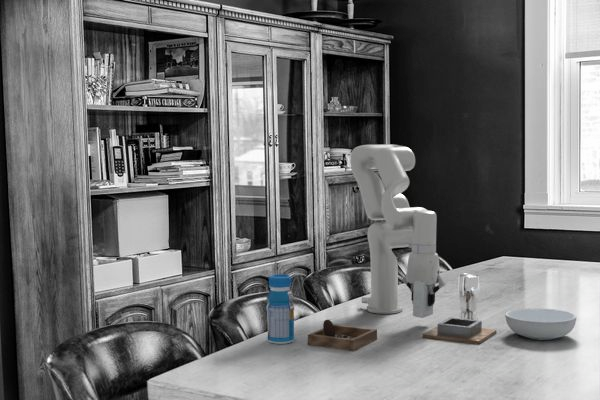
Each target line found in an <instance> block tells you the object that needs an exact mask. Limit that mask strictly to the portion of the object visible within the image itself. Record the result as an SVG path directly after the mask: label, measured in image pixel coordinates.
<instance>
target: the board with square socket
mask: <svg viewBox="0 0 600 400" xmlns="http://www.w3.org/2000/svg"><path fill="white" fill-rule="evenodd" d="M482 326H483V325H482V320H480V319H478V320H470V319H460V317H459V318H458V317H452V316H451V317H448V318H447V319H444V320H443V321H441V322H438V323H437V325H436V326H435V327H433V328H431V329H429V330H428V331H426V332H424V333H422V338H424V339H425V338H426V339H430V340H431V339H433V340H442V341H449V342H457V343H466V344H473V345H474V344H475V345H481V344H482V343H484V342H485V341H487V340H488V339H489V338H491V337H493V336H494V335H495V334H497V329H492V328H484V327H482Z"/></svg>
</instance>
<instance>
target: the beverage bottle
mask: <svg viewBox="0 0 600 400" xmlns="http://www.w3.org/2000/svg"><path fill="white" fill-rule="evenodd" d="M268 287H269V288H270V290H269V292H268V293H267V296H266V301H267V304H266V313H267V314H266V315H267V316H266V317H267V318H266V319H267V321H266V322H267V323H266V324H267V341H268V342H269V343H270V344H273V345H286V344H290V343H293V342H294V340H295V304H294V299H295V297H294V294H293V292H292V290H291V289H290V288H291V287H292V276H291V275H289V274H280V273H279V274H272V275H269V276H268Z"/></svg>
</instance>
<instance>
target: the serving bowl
mask: <svg viewBox="0 0 600 400" xmlns="http://www.w3.org/2000/svg"><path fill="white" fill-rule="evenodd" d="M504 317H505V321H506V324H507V326H508V327H509V328H510V330H511V331H512V332H514V333H515V334H517V335H520V336H522V337H525V338H528V339H531V340H537V341H538V340H539V341H541V340H542V341H547V340H548V341H549V340H553V339H557V338H561V337H564V336H566V335H569V333H571V332H572V330H573V329H574V328H575V326H576V322H577V315H576V314H575V313H573V312H570V311H565V310H561V309H553V308H552V309H551V308H542V307H541V308H537V307H536V308H535V307H534V308H533V307H532V308H531V307H530V308H517V309H512V310H508V311H507V312H505V316H504Z"/></svg>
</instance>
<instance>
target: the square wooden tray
mask: <svg viewBox="0 0 600 400" xmlns="http://www.w3.org/2000/svg"><path fill="white" fill-rule="evenodd" d="M332 324H333V326H334V329H335V335H346V336H348V337H349V338H351V339H347V338H339V337H331V336H325V333H324V330H323V327H322V328H320V329H318V330H315V331H314V332H310V333H309V334H307V345H310V346H315V347H316V346H317V347H321V348H323V347H325V348H330V349H331V348H332V349H337V350H346V351H352V352H353V351H356V350H358V349H360V348H363V347H364V346H367V345H368V344H370V343H373V342H375V341H376V340H378V329H376V328H368V327H359V326H352V325H351V326H350V325H343V324H335V323H332Z"/></svg>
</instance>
